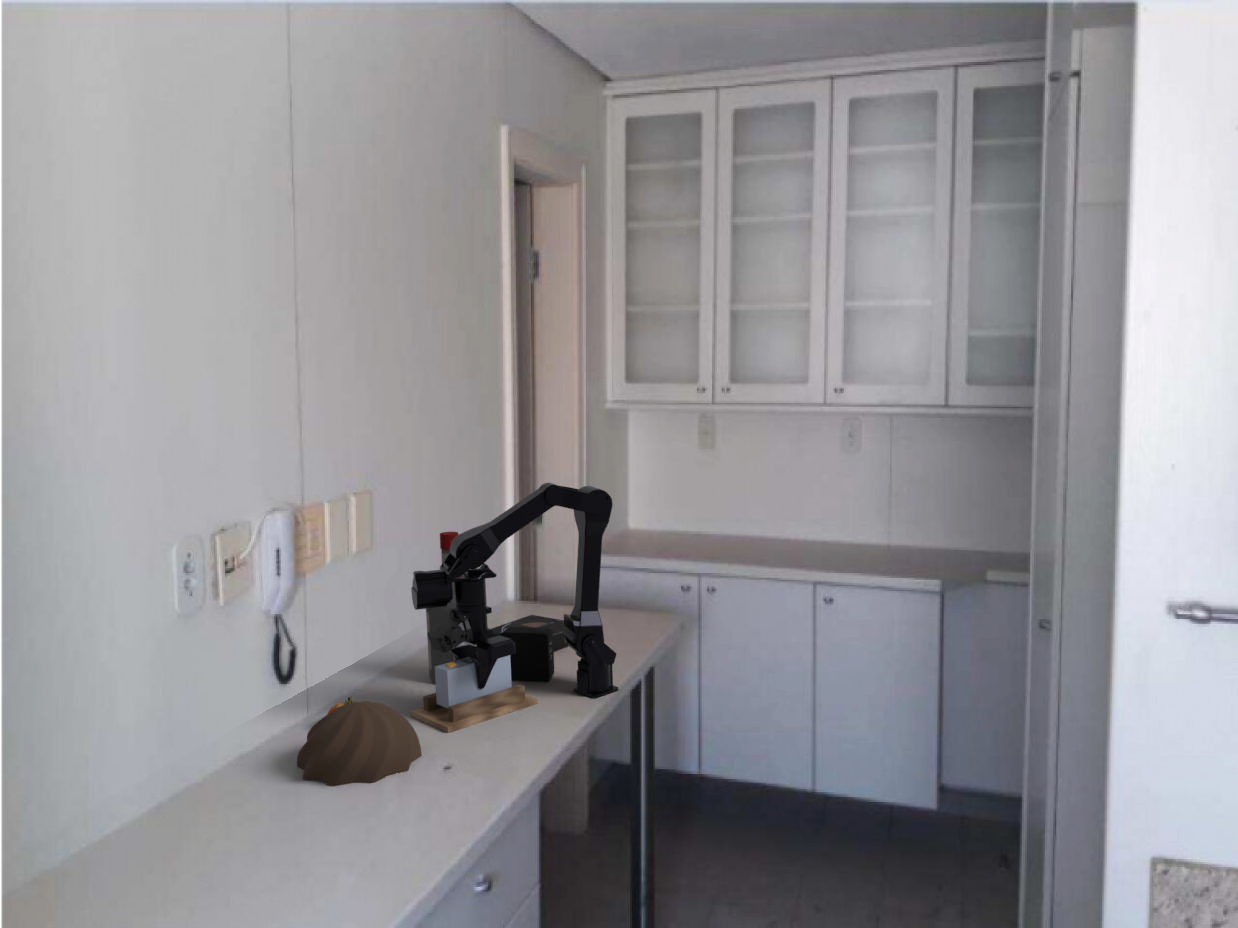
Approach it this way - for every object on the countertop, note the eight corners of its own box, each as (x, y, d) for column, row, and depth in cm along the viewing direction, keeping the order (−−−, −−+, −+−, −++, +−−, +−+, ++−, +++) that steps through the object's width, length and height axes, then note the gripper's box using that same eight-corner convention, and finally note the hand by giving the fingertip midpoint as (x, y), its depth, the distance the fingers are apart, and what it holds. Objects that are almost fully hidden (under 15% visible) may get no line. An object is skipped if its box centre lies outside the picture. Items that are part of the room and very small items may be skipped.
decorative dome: (439, 742, 171) (437, 685, 170) (387, 791, 151) (384, 728, 150) (336, 735, 175) (333, 679, 174) (273, 783, 156) (269, 720, 155)
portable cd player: (530, 630, 239) (529, 614, 239) (586, 641, 230) (586, 624, 229) (482, 647, 226) (481, 630, 226) (540, 659, 216) (539, 641, 216)
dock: (499, 688, 196) (498, 671, 196) (537, 703, 188) (537, 685, 187) (410, 716, 183) (410, 697, 182) (448, 732, 174) (447, 713, 174)
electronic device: (549, 682, 199) (547, 633, 198) (501, 680, 201) (499, 632, 200) (554, 675, 204) (553, 628, 202) (507, 674, 206) (505, 626, 204)
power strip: (498, 684, 191) (497, 647, 190) (511, 689, 188) (510, 651, 187) (436, 703, 182) (434, 664, 181) (449, 709, 179) (447, 668, 178)
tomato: (386, 713, 180) (360, 691, 176) (368, 748, 176) (342, 726, 172) (356, 712, 185) (331, 691, 181) (338, 746, 181) (312, 725, 177)
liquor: (424, 683, 201) (416, 536, 198) (448, 669, 210) (441, 528, 206) (463, 687, 198) (456, 538, 194) (486, 673, 206) (480, 530, 203)
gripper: (405, 603, 184) (409, 685, 186) (463, 620, 171) (467, 709, 172) (455, 592, 192) (459, 671, 194) (515, 607, 178) (519, 692, 180)
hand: (474, 685), depth 185 cm, fingers closed on power strip, 4 cm apart
